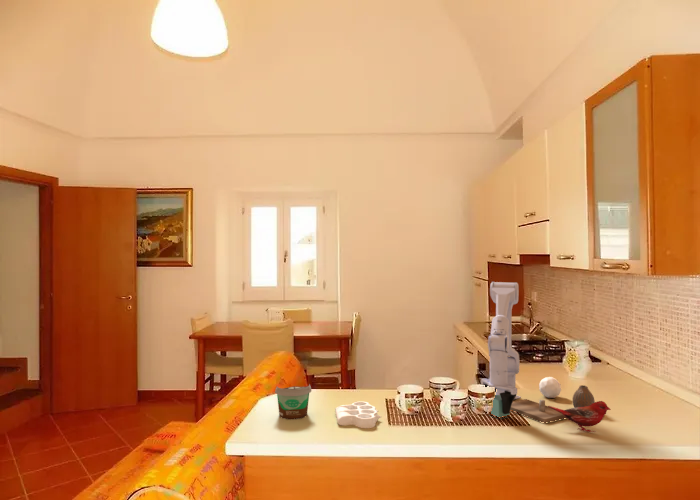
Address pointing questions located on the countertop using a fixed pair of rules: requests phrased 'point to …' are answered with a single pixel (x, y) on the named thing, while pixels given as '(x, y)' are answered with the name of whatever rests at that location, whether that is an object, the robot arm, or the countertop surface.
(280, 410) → the food container
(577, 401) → the vase
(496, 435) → the countertop surface
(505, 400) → the robot arm
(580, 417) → the decorative bird figurine
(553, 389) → the geometric ball
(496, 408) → the matte teal cube
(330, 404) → the countertop surface
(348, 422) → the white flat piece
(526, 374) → the countertop surface
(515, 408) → the walnut base plate
